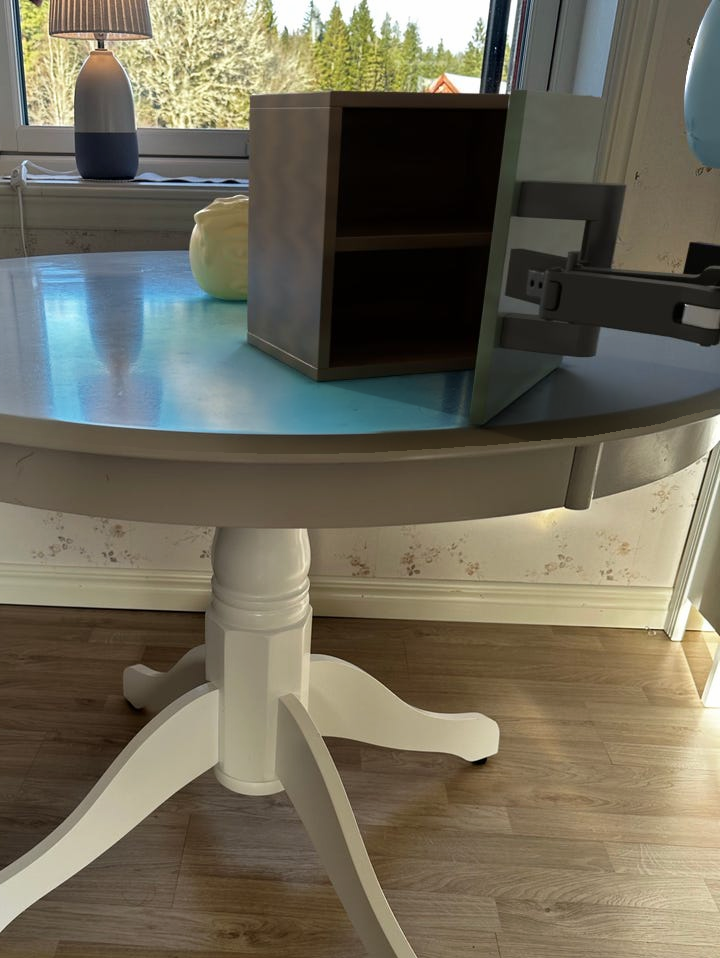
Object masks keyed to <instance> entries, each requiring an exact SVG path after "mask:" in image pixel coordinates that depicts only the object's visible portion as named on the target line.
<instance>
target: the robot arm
mask: <svg viewBox="0 0 720 958" xmlns="http://www.w3.org/2000/svg"><path fill="white" fill-rule="evenodd" d="M684 86H685V87H684V97H683V105H684V106H683V107H684V108H683V115H684V123H685V128H686V140H687V143H688V146H689V148H690V150H691V153H692V154H693V156H694V157H695V158H696V160H698V161H699V162H700V163H701V164H702V165H704V166H706V167H708V168H711V169H716V170H720V0H711V2H710V4H709V6H708V7H707V9H706V11H705V14H704V16H703V19H701V23H700V25H699V29H698V31H697V34H696V37H695V41H694V44H693V47H692V51H691V54H690V57H689V62H688V67H687V73H686V80H685V85H684ZM581 255H582V252H580V251H572V252H568V257H562V256H557V255H552V254H547V253H542V252H537V251H532V250H527V249H522V248H520V249H511V252H510V260H509V267H508V275H507V282H506V289H505V296H508V297H512V298H516V299H519V300H523V301H527V302H530V303H534V304H537V305H540V308H539V314H538V317H539V318H540V319H544V320H545V321H554V320H556V321H563V322H569V323H576V324H583V325H590V326H597V327H601V328H605V329H612V330H617V331H626V332H631V333H632V332H633V333H638V334H647V335H651V336H659V337H666V338H671V339H676V340H677V339H678V340H680V341H685V342H689V343H694V344H697V345H698V344H699V346H700V347H704V348H710V347H712V346H717V345H720V244H718V243H717V244H716V243H712V242H711V243H710V242H703V241H689V244H688V248H687V253H686V257H685V261H684V267H683V271H682V273H678V272H677V273H676V272H663V271H649V270H648V271H647V270H636V269H622V268H612V269H611V268H597V267H589V263H590V262H587V261H582V260H581Z"/></svg>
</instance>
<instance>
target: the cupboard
mask: <svg viewBox="0 0 720 958" xmlns="http://www.w3.org/2000/svg"><path fill="white" fill-rule="evenodd" d="M583 95H584V94H583ZM584 96H589V95H587V94H586V95H584ZM509 98H510V93H484V92H483V93H481V92H480V93H479V92H478V93H477V92H433V91H431V92H430V91H429V92H427V91H382V90H381V91H379V90H378V91H376V90H333V89H332V90H314V91H313V90H312V91H295V92H293V91H291V92H272V93H253V94H249V115H248V116H249V121H248V126H249V128H248V197H249V201H248V289H247V300H246V301H247V303H246V305H247V306H246V307H247V308H246V331H247V332H246V343H248V344H250V345H252V346H253V347H255V348H256V349H259V350H260V351H262V352H263V353H266V354H267V355H269V356H271V357H273V358H274V359H276V360H279V361H280V362H281V363H283V364H285V365H287V366H289V367H290V368H292V369H294V370H295V371H297V372H298V373H301V374H303V375H304V376H307V377H308V378H310V379H312V380H314V381H315V382H318V383H319V382H329V381H340V380H341V381H342V380H353V379H354V380H355V379H356V380H357V379H367V378H378V377H380V378H381V377H392V376H403V375H404V376H405V375H414V374H415V375H416V374H428V373H440V372H451V371H452V372H453V371H464V370H475V369H476V361H477V353H478V345H479V337H480V329H481V321H482V313H483V305H484V297H485V289H486V281H487V273H488V265H489V257H490V249H491V241H492V233H493V225H494V217H495V209H496V202H497V194H498V186H499V178H500V170H501V162H502V154H503V146H504V138H505V130H506V122H507V114H508V106H509Z"/></svg>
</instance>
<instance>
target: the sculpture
mask: <svg viewBox="0 0 720 958" xmlns="http://www.w3.org/2000/svg"><path fill="white" fill-rule="evenodd" d="M248 201H249V196H246V195H243V194H238V195H235V196H233V197H226V198H225V197H217V198H215V199H214V201H213V202H211V204H210V205H208V206H206V207H204V208H203V209H201V210H199V211H197V212H196V213H195V214H194V215H193V219H194V222H195V225H194V228H193V230H192V233H191V236H190V240H189V253H188V254H189V255H188V256H189V263H190V268H191V273H192V275H193V279H194V280H195V283H196V284H197V286H198V287H199V289H200V290H201V291H203V292H204V293H206V294H207V295H209V296H211V297H213V298H216V299H219V300H225V301H247V289H248Z"/></svg>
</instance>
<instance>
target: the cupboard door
mask: <svg viewBox="0 0 720 958" xmlns="http://www.w3.org/2000/svg"><path fill="white" fill-rule="evenodd" d="M509 94H510V98H509V106H508V114H507V122H506V130H505V138H504V146H503V154H502V162H501V170H500V178H499V186H498V194H497V202H496V209H495V217H494V225H493V233H492V241H491V249H490V257H489V265H488V273H487V281H486V289H485V297H484V305H483V313H482V321H481V329H480V337H479V345H478V353H477V361H476V369H474V370H475V371H474V377H473V378H474V379H473V385H472V386H473V387H472V394H471V402H470V410H469V419H468V423H469V424H471V425H478V426H483V425H485V424H486V423H488V422H489V421H490V420H491V419H492V418H494V417H495V416H497V414H499V413H500V412H501V411H503V410H504V409H505V408H507V407H508V406H509V405H510V404H512V403H513V402H514V401H516V400H517V399H518V398H519V397H521V396H522V395H523V394H524V393H526V392H527V391H528V390H530V389H531V388H532V387H533V386H535V385H536V384H537V383H538V382H540V381H541V380H542V379H544V378H545V377H546V376H548V375H549V374H550V373H551V372H553V371H554V370H555V369H556V368H558V367H559V366H560V365H562V364H563V360H564V356H565V357H573V358H592V357H595V356H596V355H597V350H598V344H599V339H600V334H601V328H602V327H597V326H590V325H583V324H576V323H569V322H563V321H556V320H554V321H545V320H544V319H540V318H539V317H538V314H539V308H540V305H537V304H534V303H530V302H527V301H523V300H519V299H516V298H512V297H508V296H505V289H506V282H507V275H508V267H509V260H510V252H511V249H520V248H522V249H527V250H532V251H537V252H542V253H547V254H552V255H557V256H562V257H568V252H572V251H580V252H582V255H581V260H582V261H587V262H590V263H589V267H597V268H611V269H613V263H614V258H615V251H616V246H617V241H618V237H619V230H620V225H621V220H622V219H621V218H622V214H623V208H624V203H625V197H626V193H627V188H628V186H627V184H626V183H619V182H618V183H617V182H598V181H597V182H596V181H595V182H594V175H595V169H596V162H597V156H598V151H599V146H600V145H599V144H600V138H601V133H602V127H603V121H604V115H605V109H606V103H607V98H606V97H603V96H595V95H594V96H593V95H588V96H584V94H573V93H563V92H553V91H544V90H534V89H510V91H509Z"/></svg>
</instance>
